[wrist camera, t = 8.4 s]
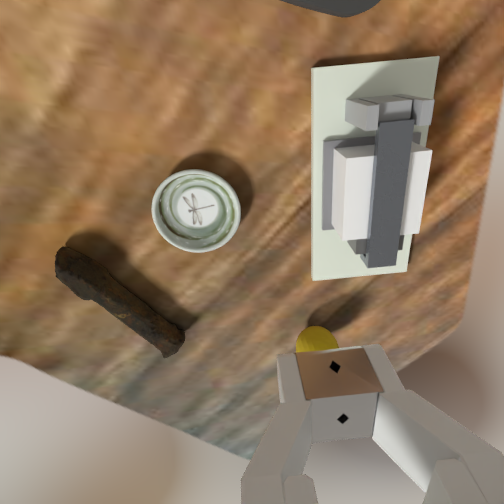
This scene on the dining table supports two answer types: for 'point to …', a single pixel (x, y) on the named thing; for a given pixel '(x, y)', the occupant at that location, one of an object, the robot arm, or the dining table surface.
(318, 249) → the board
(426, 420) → the robot arm
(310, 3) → the media streaming box
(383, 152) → the strap
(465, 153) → the dining table surface
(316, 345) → the lemon
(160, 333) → the dark brown long bar
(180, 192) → the saucer
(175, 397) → the dining table surface
